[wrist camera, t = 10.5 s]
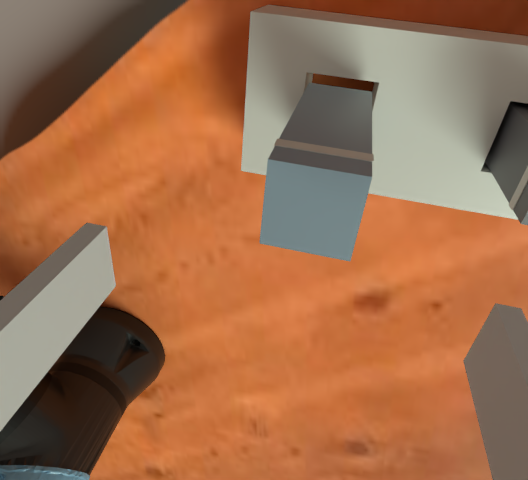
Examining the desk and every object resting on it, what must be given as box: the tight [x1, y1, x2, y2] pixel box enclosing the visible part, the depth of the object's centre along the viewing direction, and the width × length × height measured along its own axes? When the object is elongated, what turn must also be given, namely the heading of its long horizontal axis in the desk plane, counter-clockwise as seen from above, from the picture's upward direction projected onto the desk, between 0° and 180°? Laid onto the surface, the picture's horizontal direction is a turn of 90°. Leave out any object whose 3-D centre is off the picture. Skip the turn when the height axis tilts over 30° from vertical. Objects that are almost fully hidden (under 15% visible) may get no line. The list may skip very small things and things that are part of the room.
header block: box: [241, 5, 528, 220], centre depth 32 cm, size 28×12×6 cm, turn 85°
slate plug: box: [260, 83, 374, 261], centre depth 24 cm, size 4×4×14 cm
